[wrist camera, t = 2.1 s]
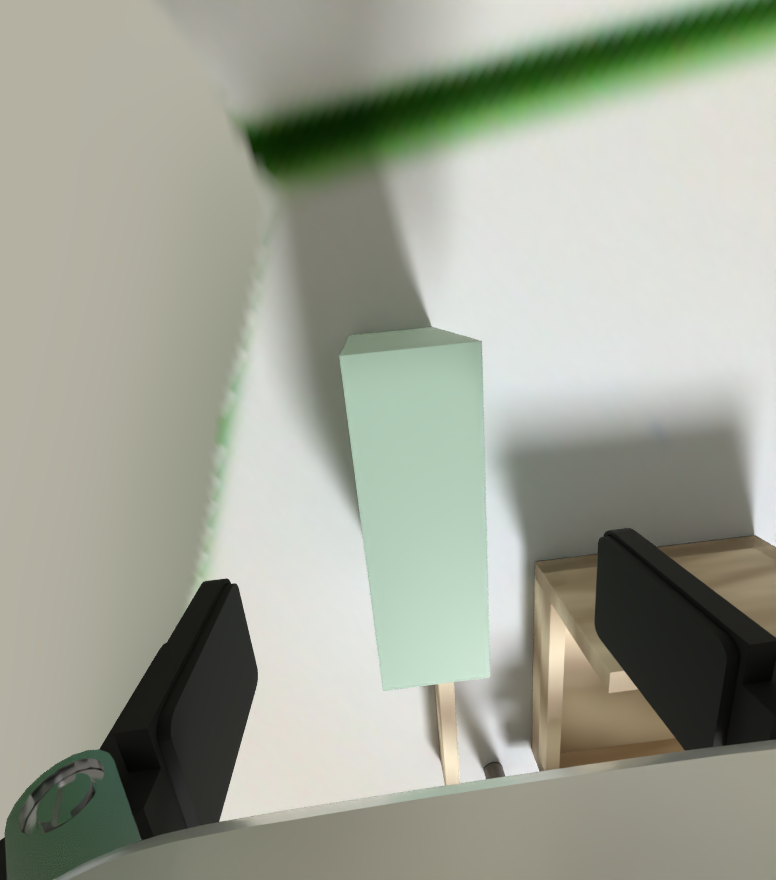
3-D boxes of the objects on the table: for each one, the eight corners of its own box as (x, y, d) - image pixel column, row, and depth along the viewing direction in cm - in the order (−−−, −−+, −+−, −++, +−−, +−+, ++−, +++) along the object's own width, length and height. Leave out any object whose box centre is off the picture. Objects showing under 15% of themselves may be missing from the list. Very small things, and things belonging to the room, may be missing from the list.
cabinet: (426, 574, 22) (460, 718, 14) (755, 535, 22) (959, 654, 15) (442, 782, 27) (474, 972, 19) (712, 746, 27) (848, 918, 20)
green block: (348, 335, 18) (339, 356, 10) (431, 326, 18) (481, 341, 10) (376, 562, 22) (384, 702, 14) (445, 554, 22) (490, 689, 14)
